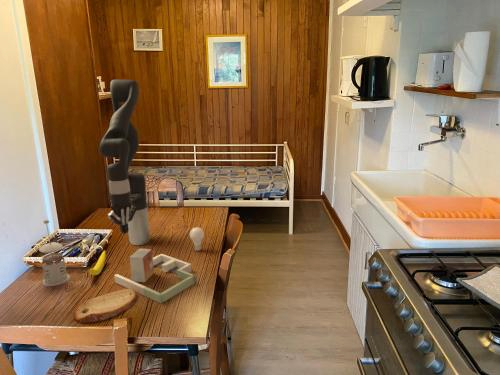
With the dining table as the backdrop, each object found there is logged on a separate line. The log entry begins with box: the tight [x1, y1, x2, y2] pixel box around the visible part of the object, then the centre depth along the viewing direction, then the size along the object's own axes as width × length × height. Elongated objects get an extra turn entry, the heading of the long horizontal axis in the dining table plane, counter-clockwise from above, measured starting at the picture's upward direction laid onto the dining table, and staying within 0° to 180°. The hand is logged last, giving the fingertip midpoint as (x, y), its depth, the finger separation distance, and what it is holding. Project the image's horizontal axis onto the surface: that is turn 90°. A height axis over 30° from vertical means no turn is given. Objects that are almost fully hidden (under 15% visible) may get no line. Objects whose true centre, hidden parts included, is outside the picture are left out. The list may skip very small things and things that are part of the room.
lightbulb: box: [189, 226, 205, 252], centre depth 172 cm, size 6×6×11 cm
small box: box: [129, 248, 155, 283], centre depth 149 cm, size 8×6×10 cm
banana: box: [87, 250, 107, 276], centre depth 155 cm, size 3×19×6 cm, turn 3°
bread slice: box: [73, 288, 138, 324], centre depth 131 cm, size 18×18×4 cm
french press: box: [38, 219, 71, 287], centre depth 148 cm, size 10×12×25 cm
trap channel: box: [113, 253, 197, 304], centre depth 149 cm, size 26×23×3 cm
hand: (124, 232), depth 151 cm, fingers closed
